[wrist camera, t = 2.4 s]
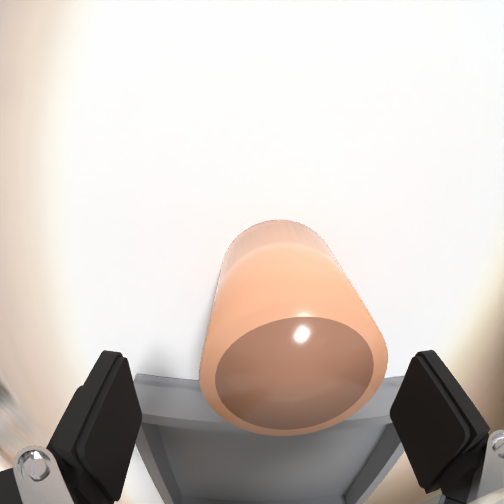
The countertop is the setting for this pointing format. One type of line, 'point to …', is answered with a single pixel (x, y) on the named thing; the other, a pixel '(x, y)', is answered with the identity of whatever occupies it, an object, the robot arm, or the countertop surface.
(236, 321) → the terracotta cup
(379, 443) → the grey square tray
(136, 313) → the countertop surface
